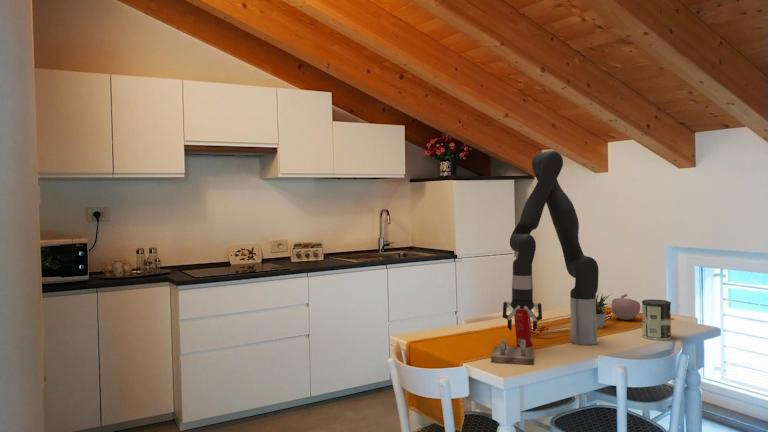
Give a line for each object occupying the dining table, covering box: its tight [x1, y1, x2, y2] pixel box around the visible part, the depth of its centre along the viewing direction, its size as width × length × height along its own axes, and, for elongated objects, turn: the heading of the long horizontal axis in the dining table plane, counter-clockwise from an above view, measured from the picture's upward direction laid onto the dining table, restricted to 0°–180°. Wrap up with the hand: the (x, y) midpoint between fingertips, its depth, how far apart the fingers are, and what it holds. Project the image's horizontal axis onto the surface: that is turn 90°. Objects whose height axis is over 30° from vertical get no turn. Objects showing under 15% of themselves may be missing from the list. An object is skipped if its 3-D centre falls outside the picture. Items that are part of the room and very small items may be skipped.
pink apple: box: [610, 293, 641, 321], centre depth 255 cm, size 12×12×11 cm
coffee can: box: [641, 299, 672, 341], centre depth 223 cm, size 10×10×14 cm
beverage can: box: [513, 309, 533, 348], centre depth 212 cm, size 6×6×15 cm
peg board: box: [490, 338, 535, 366], centre depth 198 cm, size 14×14×6 cm
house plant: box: [596, 292, 613, 329], centre depth 243 cm, size 14×14×16 cm
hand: (522, 330), depth 212 cm, fingers open, 8 cm apart
